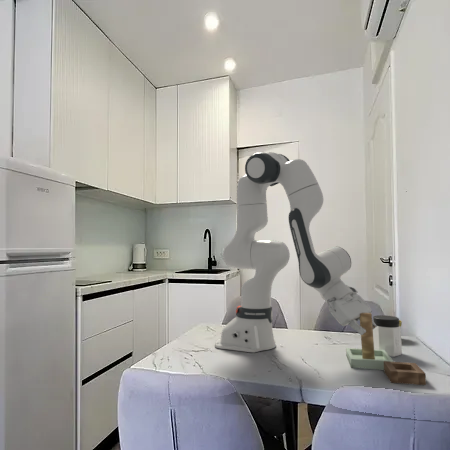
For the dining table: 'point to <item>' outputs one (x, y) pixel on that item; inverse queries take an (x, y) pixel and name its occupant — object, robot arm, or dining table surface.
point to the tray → (357, 361)
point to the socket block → (404, 373)
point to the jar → (387, 335)
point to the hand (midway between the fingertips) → (369, 330)
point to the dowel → (367, 336)
